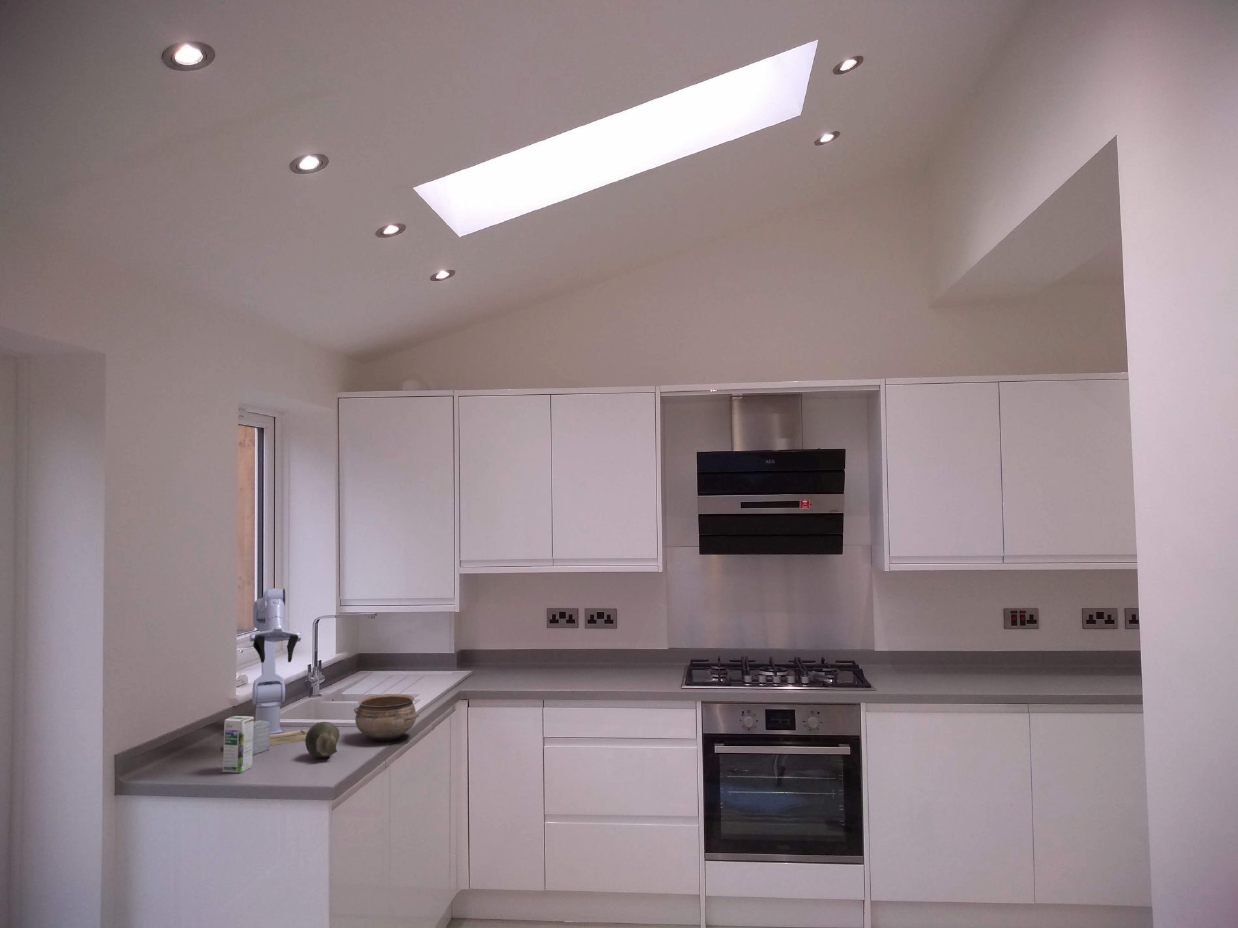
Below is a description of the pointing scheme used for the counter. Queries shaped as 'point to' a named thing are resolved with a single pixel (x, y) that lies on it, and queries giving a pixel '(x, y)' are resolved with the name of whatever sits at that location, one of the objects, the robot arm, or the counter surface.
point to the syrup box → (238, 744)
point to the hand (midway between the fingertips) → (276, 660)
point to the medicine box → (261, 736)
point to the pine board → (287, 737)
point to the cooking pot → (385, 716)
